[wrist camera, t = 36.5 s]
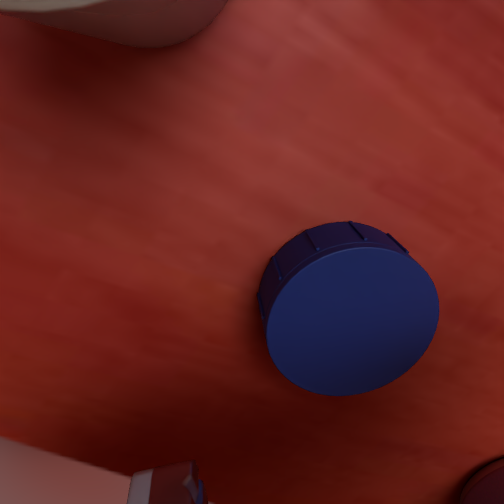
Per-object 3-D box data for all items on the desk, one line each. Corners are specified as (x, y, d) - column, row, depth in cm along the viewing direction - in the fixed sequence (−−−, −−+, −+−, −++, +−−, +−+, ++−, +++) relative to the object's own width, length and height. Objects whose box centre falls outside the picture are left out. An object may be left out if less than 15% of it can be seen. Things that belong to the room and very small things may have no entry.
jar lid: (293, 200, 14) (308, 223, 12) (437, 248, 16) (472, 275, 14) (237, 337, 16) (241, 377, 14) (368, 369, 18) (389, 410, 16)
